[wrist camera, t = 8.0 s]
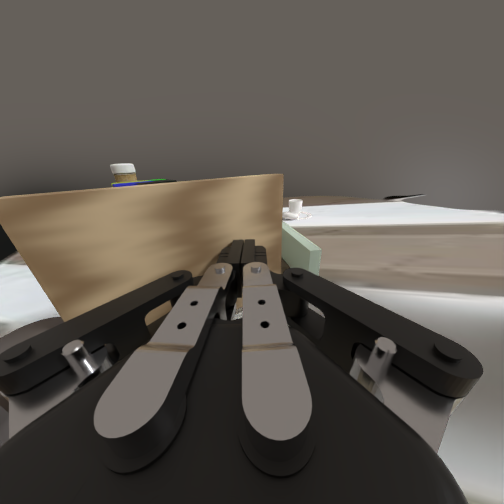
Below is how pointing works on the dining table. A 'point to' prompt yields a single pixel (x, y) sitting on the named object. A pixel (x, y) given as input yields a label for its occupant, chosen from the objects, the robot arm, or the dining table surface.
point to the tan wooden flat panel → (135, 238)
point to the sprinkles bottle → (124, 172)
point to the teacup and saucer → (295, 210)
